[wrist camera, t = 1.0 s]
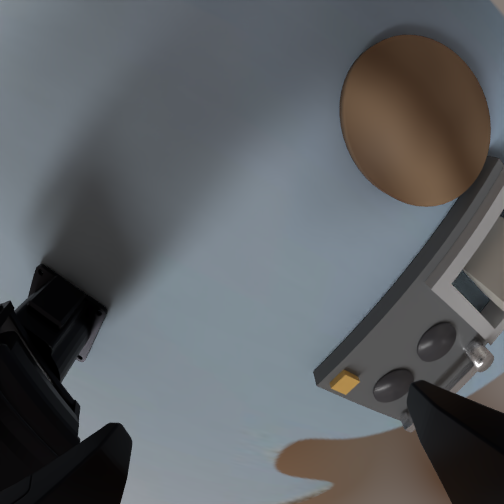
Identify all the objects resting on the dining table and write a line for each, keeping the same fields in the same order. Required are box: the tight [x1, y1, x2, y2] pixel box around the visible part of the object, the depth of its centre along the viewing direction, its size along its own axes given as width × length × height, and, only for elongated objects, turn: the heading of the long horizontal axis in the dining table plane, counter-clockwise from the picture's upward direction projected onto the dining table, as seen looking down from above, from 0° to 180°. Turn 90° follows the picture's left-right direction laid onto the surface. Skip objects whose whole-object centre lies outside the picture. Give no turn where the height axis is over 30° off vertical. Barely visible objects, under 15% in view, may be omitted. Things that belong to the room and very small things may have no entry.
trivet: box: [340, 35, 491, 207], centre depth 17 cm, size 11×11×1 cm
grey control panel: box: [313, 156, 504, 421], centre depth 21 cm, size 21×12×3 cm, turn 146°
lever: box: [400, 339, 494, 432], centre depth 23 cm, size 10×2×4 cm, turn 145°
